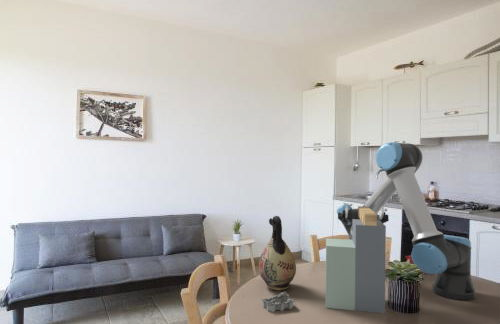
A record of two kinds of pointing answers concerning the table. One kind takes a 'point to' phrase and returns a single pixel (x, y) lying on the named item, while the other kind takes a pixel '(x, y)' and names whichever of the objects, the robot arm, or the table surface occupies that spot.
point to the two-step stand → (357, 269)
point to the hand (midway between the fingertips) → (364, 209)
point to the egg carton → (278, 302)
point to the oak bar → (367, 216)
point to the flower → (409, 259)
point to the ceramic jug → (277, 260)
